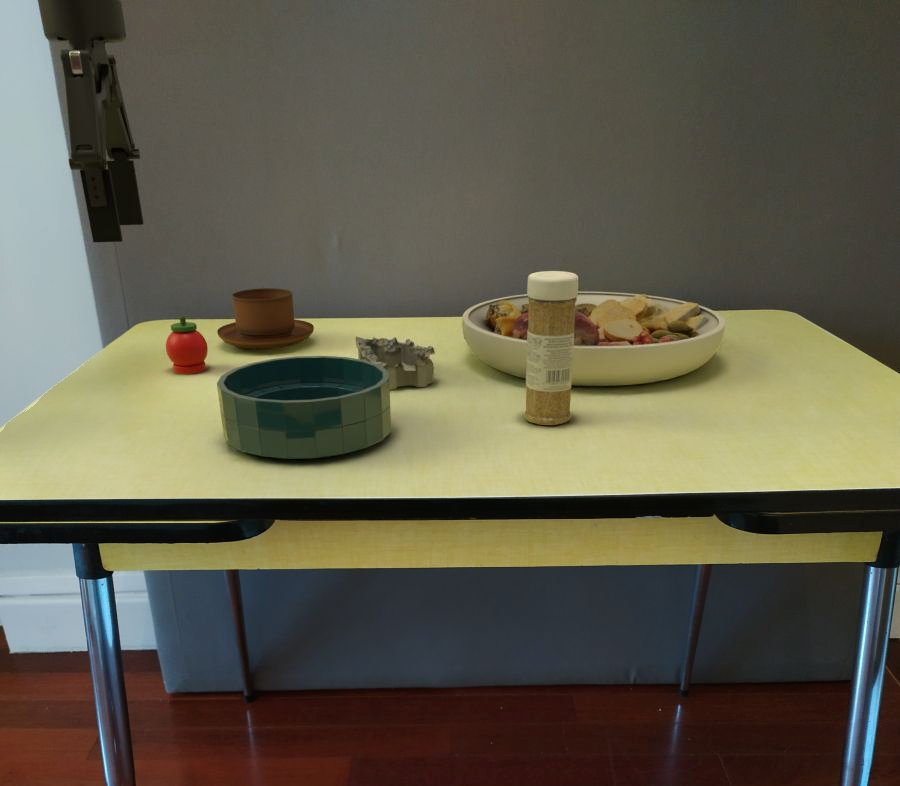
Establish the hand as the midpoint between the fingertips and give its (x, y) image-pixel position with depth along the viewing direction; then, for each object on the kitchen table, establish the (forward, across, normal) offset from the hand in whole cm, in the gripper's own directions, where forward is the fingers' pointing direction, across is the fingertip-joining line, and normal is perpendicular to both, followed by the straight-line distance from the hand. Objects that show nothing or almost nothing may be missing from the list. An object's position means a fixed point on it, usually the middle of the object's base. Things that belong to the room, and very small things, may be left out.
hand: (120, 233), depth 97 cm
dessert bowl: (+15, -25, -19) cm, 35 cm away
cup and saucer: (+15, +12, -13) cm, 23 cm away
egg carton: (+15, -6, -28) cm, 33 cm away
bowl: (+15, -2, -52) cm, 54 cm away
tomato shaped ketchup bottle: (+15, 0, -5) cm, 16 cm away
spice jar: (+15, -24, -41) cm, 50 cm away
